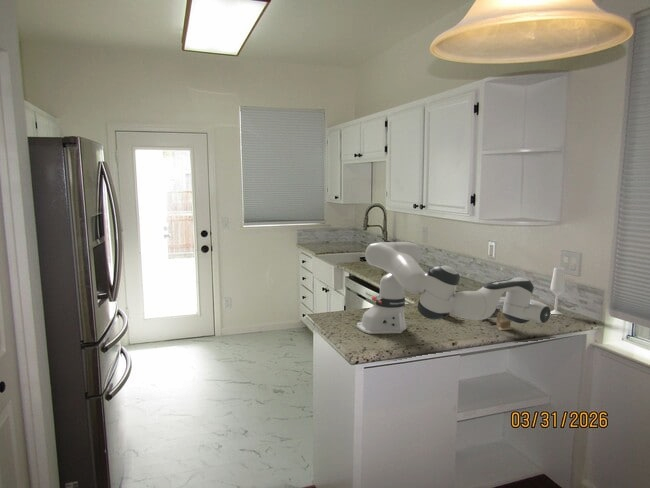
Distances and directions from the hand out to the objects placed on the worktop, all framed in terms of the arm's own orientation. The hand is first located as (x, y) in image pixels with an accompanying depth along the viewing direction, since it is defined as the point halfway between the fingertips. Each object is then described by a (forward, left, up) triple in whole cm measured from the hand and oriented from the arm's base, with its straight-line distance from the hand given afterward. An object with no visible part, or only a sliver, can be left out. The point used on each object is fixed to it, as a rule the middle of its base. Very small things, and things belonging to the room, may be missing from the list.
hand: (496, 297), depth 209 cm
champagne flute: (+43, +6, -13) cm, 46 cm away
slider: (-1, +2, -9) cm, 10 cm away
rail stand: (-1, +3, -13) cm, 13 cm away
